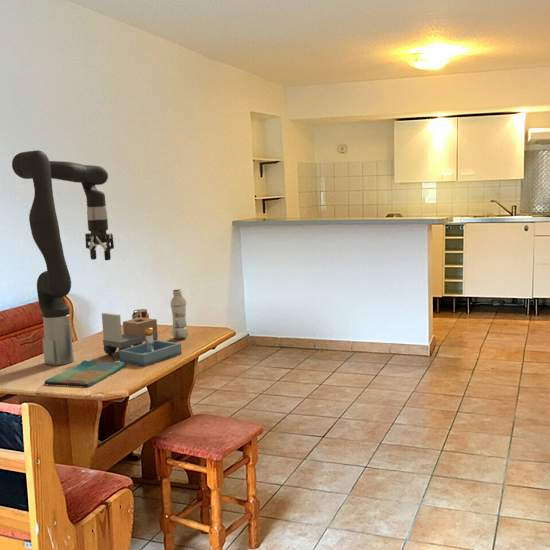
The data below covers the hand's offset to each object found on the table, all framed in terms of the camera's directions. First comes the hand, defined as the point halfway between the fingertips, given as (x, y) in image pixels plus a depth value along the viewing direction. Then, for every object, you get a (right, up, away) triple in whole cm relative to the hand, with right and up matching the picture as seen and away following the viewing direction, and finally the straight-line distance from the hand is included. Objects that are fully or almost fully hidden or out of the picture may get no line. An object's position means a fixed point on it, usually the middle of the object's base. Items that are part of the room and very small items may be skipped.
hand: (100, 259), depth 251 cm
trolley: (+14, -35, -8) cm, 39 cm away
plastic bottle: (+30, -32, +9) cm, 45 cm away
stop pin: (+23, -35, -19) cm, 46 cm away
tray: (+24, -36, -19) cm, 47 cm away
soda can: (+14, -33, +11) cm, 37 cm away
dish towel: (+6, -40, -38) cm, 56 cm away
